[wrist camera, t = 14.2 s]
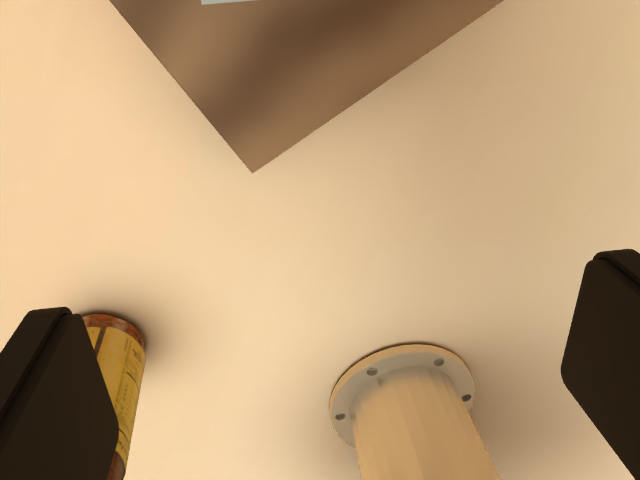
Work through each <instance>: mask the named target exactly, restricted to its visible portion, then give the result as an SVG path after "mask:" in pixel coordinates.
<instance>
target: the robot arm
mask: <svg viewBox="0 0 640 480" xmlns="http://www.w3.org/2000/svg"><path fill="white" fill-rule="evenodd" d="M561 376H562V379H563V382H564V384H565V386H566V387H567V389H568V390H569V391H570V393H571V394H572V395H573V397H574V398H575V399H576V401H577V402H578V403H579V405H580V406H581V407H582V409H583V410H584V411H585V413H586V414H587V415H588V417H589V418H590V419H591V421H592V422H593V423H594V425H595V426H596V427H597V429H598V430H599V431H600V433H601V434H602V435H603V437H604V438H605V439H606V441H607V442H608V443H609V445H610V446H611V447H612V449H613V450H614V451H615V453H616V454H617V455H618V457H619V458H620V460H621V461H622V462H623V464H624V465H625V466H626V468H627V469H628V470H629V472H630V473H631V474H632V476H633V477H634V478H635V480H640V254H639V253H638V252H637V251H635V250H633V249H623V250H613V251H604V252H599V253H597V254H596V255H595V256H594V258H593V260H591V261H589V262H588V263H587V264H586V267H585V270H584V274H583V278H582V282H581V286H580V290H579V295H578V299H577V303H576V307H575V311H574V315H573V319H572V323H571V327H570V331H569V336H568V340H567V344H566V348H565V352H564V356H563V360H562V364H561ZM474 397H475V385H474V380H473V377H472V375H471V373H470V371H469V369H468V368H467V366H466V365H465V363H464V362H463V361H462V360H461V359H460V358H459V357H458V356H456V355H455V354H454V353H452V352H450V351H448V350H445V349H443V348H439V347H436V346H432V345H421V344H414V345H402V346H397V347H392V348H388V349H385V350H382V351H379V352H377V353H374V354H372V355H370V356H368V357H366V358H365V359H363V360H361V361H360V362H358V363H357V364H355V365H354V366H353V367H351V368H350V369H349V370H348V371H347V372H346V373H345V374H344V375H343V376H342V377H341V378H340V380H339V381H338V383H337V384H336V386H335V387H334V390H333V392H332V395H331V398H330V405H329V409H330V416H331V421H332V424H333V428H334V430H335V431H336V433H337V434H338V436H339V437H340V438H341V439H343V440H344V441H345V442H346V443H348V444H349V445H351V446H353V447H355V448H356V451H357V455H358V460H359V465H360V469H361V474H362V478H363V480H500V478H499V476H498V474H497V472H496V470H495V468H494V465H493V463H492V461H491V459H490V457H489V455H488V453H487V451H486V449H485V446H484V444H483V442H482V440H481V438H480V436H479V434H478V432H477V430H476V427H475V425H474V423H473V421H472V419H471V417H470V415H469V413H468V412H469V410H470V409H471V407H472V404H473V401H474ZM118 438H119V422H118V418H117V416H116V413H115V410H114V407H113V404H112V401H111V398H110V395H109V392H108V389H107V387H106V384H105V381H104V378H103V375H102V372H101V369H100V366H99V363H98V360H97V358H96V355H95V352H94V349H93V346H92V343H91V340H90V337H89V334H88V331H87V328H86V326H85V323H84V320H83V318H82V316H81V315H80V314H72V312H71V311H70V309H69V308H67V307H57V308H48V309H38V310H32V311H29V312H28V313H27V314H26V316H25V317H24V319H23V320H22V322H21V323H20V325H19V326H18V328H17V329H16V331H15V332H14V334H13V335H12V336H11V338H10V339H9V341H8V342H7V344H6V345H5V347H4V348H3V350H2V351H1V353H0V480H107V477H108V473H109V470H110V467H111V463H112V460H113V456H114V453H115V450H116V446H117V443H118Z"/></svg>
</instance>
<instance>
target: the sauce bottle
mask: <svg viewBox="0 0 640 480" xmlns="http://www.w3.org/2000/svg"><path fill="white" fill-rule="evenodd" d="M82 318H83V320H84V323H85V326H86V328H87V331H88V334H89V337H90V340H91V343H92V346H93V349H94V352H95V355H96V358H97V360H98V363H99V366H100V369H101V372H102V375H103V378H104V381H105V384H106V387H107V389H108V392H109V395H110V398H111V401H112V404H113V407H114V410H115V413H116V416H117V418H118V422H119V438H118V443H117V446H116V450H115V453H114V456H113V460H112V463H111V467H110V470H109V473H108V477H107V480H123V479H124V476H125V472H126V466H127V460H128V455H129V449H130V443H131V437H132V432H133V426H134V421H135V415H136V409H137V404H138V398H139V393H140V387H141V382H142V377H143V371H144V366H145V348H144V347H145V345H144V344H143V339H142V337H141V334H140V333H139V331H138V329H137V328H136V327H135V326H134V325H132V324H130V323H129V322H127V321H125V320H122V319H119V318H117V317H114V316H111V315H106V314H92V315H87V316H84V317H82Z"/></svg>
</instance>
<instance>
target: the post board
mask: <svg viewBox="0 0 640 480" xmlns="http://www.w3.org/2000/svg"><path fill="white" fill-rule="evenodd" d="M502 1H503V0H254V1H242V2H229V3H217V4H204V5H202V3H201V0H110V2H111V3H112V4H113V5H114V6H115V8H116V9H117V10H118V11H119V13H120V14H121V15H122V16H123V17H124V19H125V20H126V21H127V22H128V23H129V25H130V26H131V27H132V28H133V29H134V31H135V32H136V33H137V34H138V36H139V37H140V38H141V39H142V40H143V42H144V43H145V44H146V45H147V46H148V48H149V49H150V50H151V51H152V52H153V54H154V55H155V56H156V57H157V59H158V60H159V61H160V62H161V63H162V65H163V66H164V67H165V68H166V69H167V71H168V72H169V73H170V74H171V76H172V77H173V78H174V79H175V80H176V82H177V83H178V84H179V85H180V86H181V88H182V89H183V90H184V91H185V92H186V94H187V95H188V96H189V97H190V99H191V100H192V101H193V102H194V103H195V105H196V106H197V107H198V108H199V109H200V111H201V112H202V113H203V114H204V115H205V117H206V118H207V119H208V120H209V122H210V123H211V124H212V125H213V126H214V128H215V129H216V130H217V131H218V132H219V134H220V135H221V136H222V137H223V138H224V140H225V141H226V142H227V143H228V145H229V146H230V147H231V148H232V149H233V151H234V152H235V153H236V154H237V155H238V157H239V158H240V159H241V160H242V161H243V163H244V164H245V165H246V166H247V168H248V169H249V170H250V171H251V172H252V173H254V172H255V171H257V170H258V169H260V168H261V167H263V166H264V165H265V164H267V163H268V162H270V161H271V160H273V159H274V158H276V157H277V156H279V155H280V154H281V153H283V152H284V151H286V150H287V149H289V148H290V147H292V146H293V145H295V144H296V143H297V142H299V141H300V140H302V139H303V138H305V137H306V136H308V135H309V134H310V133H312V132H313V131H315V130H316V129H318V128H319V127H321V126H322V125H324V124H325V123H326V122H328V121H329V120H331V119H332V118H334V117H335V116H337V115H338V114H339V113H341V112H342V111H344V110H345V109H347V108H348V107H350V106H351V105H353V104H354V103H355V102H357V101H358V100H360V99H361V98H363V97H364V96H366V95H367V94H368V93H370V92H371V91H373V90H374V89H376V88H377V87H379V86H380V85H382V84H383V83H384V82H386V81H387V80H389V79H390V78H392V77H393V76H395V75H396V74H397V73H399V72H400V71H402V70H403V69H405V68H406V67H408V66H409V65H411V64H412V63H413V62H415V61H416V60H418V59H419V58H421V57H422V56H424V55H425V54H427V53H428V52H429V51H431V50H432V49H434V48H435V47H437V46H438V45H440V44H441V43H442V42H444V41H445V40H447V39H448V38H450V37H451V36H453V35H454V34H456V33H457V32H458V31H460V30H461V29H463V28H464V27H466V26H467V25H469V24H470V23H471V22H473V21H474V20H476V19H477V18H479V17H480V16H482V15H483V14H485V13H486V12H487V11H489V10H490V9H492V8H493V7H495V6H496V5H498V4H499V3H500V2H502Z"/></svg>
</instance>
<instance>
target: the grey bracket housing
mask: <svg viewBox="0 0 640 480" xmlns="http://www.w3.org/2000/svg"><path fill="white" fill-rule="evenodd" d="M242 1H254V0H201V3H202V5H204V4H217V3H229V2H242Z"/></svg>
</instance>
